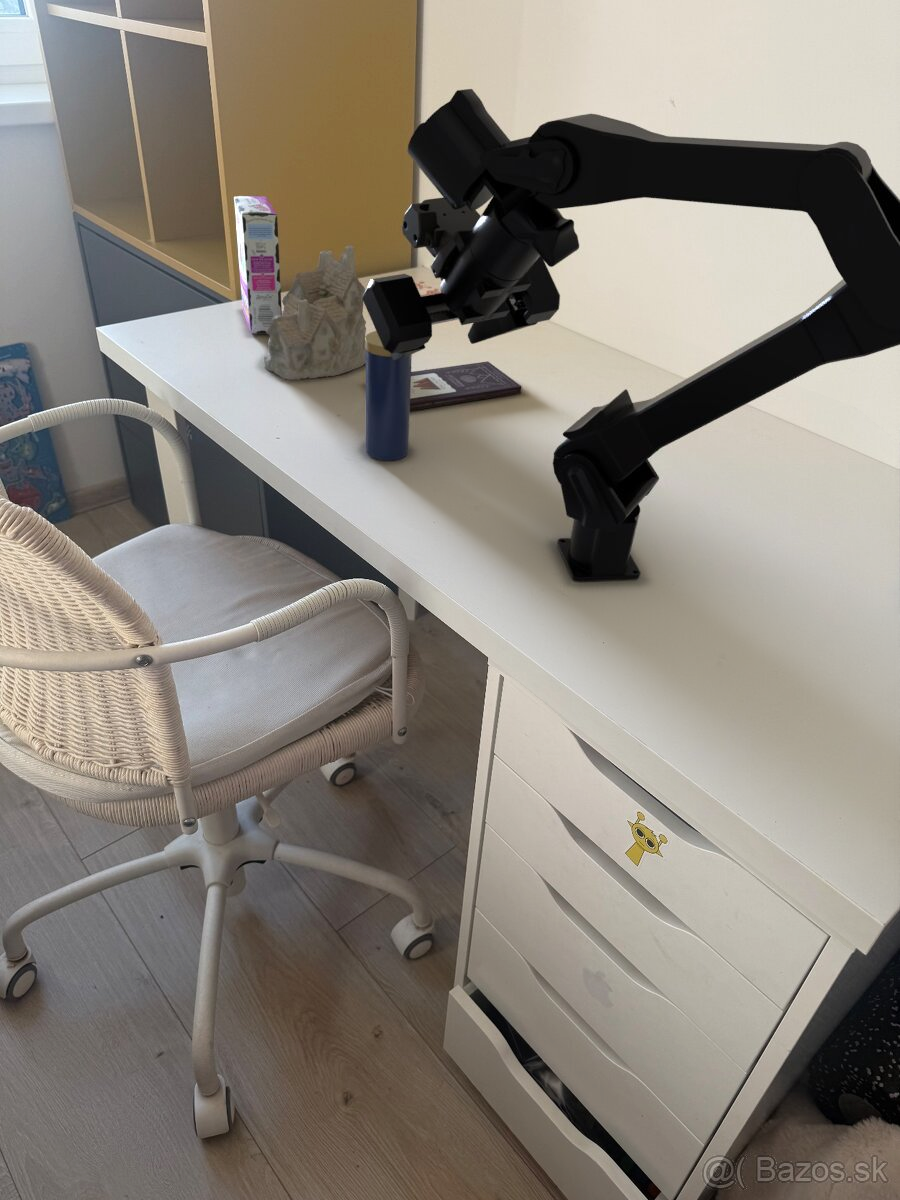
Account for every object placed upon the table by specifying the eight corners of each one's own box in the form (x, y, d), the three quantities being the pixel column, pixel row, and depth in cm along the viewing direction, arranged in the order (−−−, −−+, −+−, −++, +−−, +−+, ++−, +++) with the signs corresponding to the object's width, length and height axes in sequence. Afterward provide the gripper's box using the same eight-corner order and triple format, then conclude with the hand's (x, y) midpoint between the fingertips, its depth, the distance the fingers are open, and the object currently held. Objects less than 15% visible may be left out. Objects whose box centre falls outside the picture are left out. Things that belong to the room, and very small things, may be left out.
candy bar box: (285, 334, 121) (278, 213, 111) (250, 335, 120) (240, 213, 110) (274, 309, 129) (267, 194, 119) (242, 310, 128) (231, 194, 118)
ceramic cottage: (333, 325, 124) (326, 220, 114) (390, 368, 114) (388, 257, 104) (236, 348, 117) (219, 238, 107) (286, 396, 107) (274, 279, 97)
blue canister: (411, 461, 92) (415, 347, 84) (366, 461, 92) (366, 347, 84) (406, 440, 96) (410, 330, 88) (363, 441, 95) (363, 329, 88)
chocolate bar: (521, 386, 108) (396, 405, 101) (520, 393, 109) (395, 412, 102) (488, 361, 115) (367, 377, 107) (487, 367, 115) (367, 384, 108)
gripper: (548, 157, 74) (477, 264, 88) (364, 176, 66) (317, 291, 80) (599, 267, 73) (519, 357, 87) (419, 300, 65) (362, 394, 79)
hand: (432, 347), depth 83 cm, fingers open, 9 cm apart
